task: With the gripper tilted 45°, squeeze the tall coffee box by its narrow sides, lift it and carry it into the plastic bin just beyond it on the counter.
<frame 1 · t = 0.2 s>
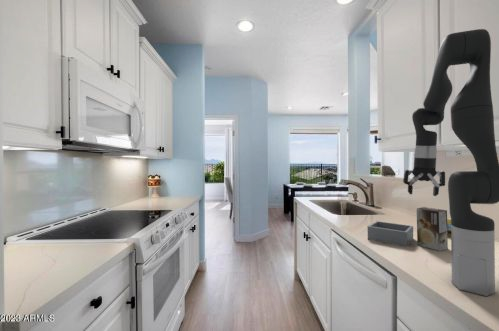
hand: (422, 194, 104), 22 cm above the worktop, tool pointing down, fingers open, 8 cm apart
bin: (390, 238, 116), on the worktop
candy box: (441, 234, 123), on the worktop
coffee box: (432, 247, 104), on the worktop
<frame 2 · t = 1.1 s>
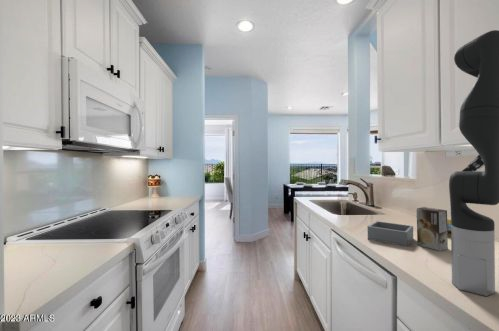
hand: (460, 176, 95), 30 cm above the worktop, tool tilted 45°, fingers open, 8 cm apart
nothing on the worktop moved.
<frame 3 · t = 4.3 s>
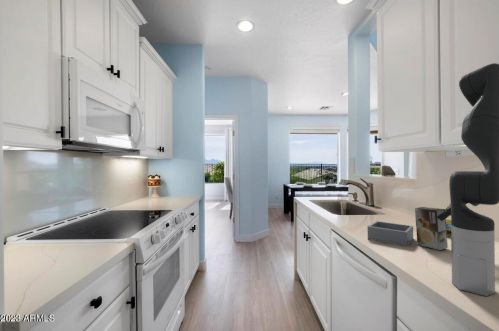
hand: (440, 217, 102), 13 cm above the worktop, tool tilted 45°, fingers open, 8 cm apart
coffee box: (432, 246, 104), on the worktop, touching gripper
everything else where it was.
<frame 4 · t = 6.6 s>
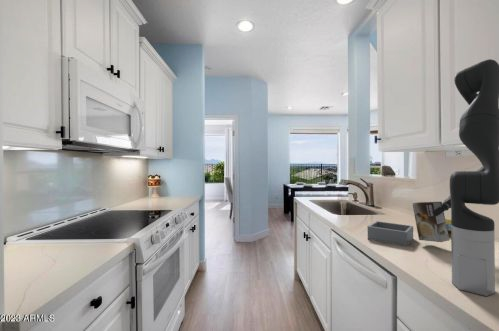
hand: (435, 213, 103), 15 cm above the worktop, tool tilted 45°, fingers closed on coffee box, 7 cm apart
coffee box: (433, 240, 104), point 3 cm above the worktop, touching gripper
everything else where it was.
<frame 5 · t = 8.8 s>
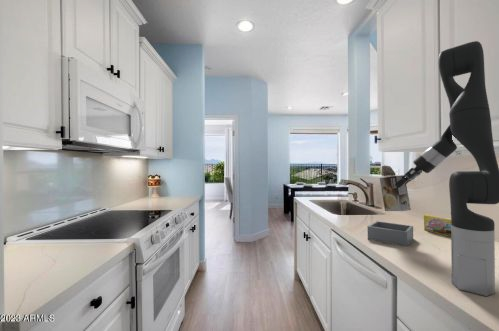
hand: (398, 185, 114), 25 cm above the worktop, tool tilted 45°, fingers closed on coffee box, 7 cm apart
coffee box: (397, 211, 114), point 13 cm above the worktop, touching gripper
everything else where it was.
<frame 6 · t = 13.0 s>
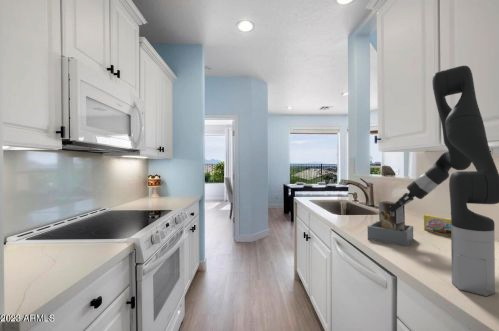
hand: (393, 209, 115), 14 cm above the worktop, tool tilted 45°
coffee box: (392, 237, 116), point 1 cm above the worktop, touching bin, gripper
everything else where it was.
when the fingers open (14 cm above the worktop, at t = 13.2 s): coffee box stays where it is, resting on bin.
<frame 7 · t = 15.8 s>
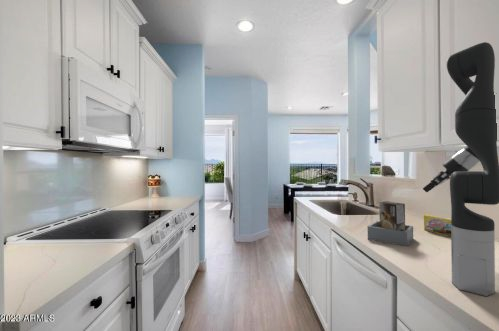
hand: (426, 189, 106), 24 cm above the worktop, tool tilted 45°, fingers open, 8 cm apart
coffee box: (392, 237, 116), point 1 cm above the worktop, touching bin
everything else where it was.
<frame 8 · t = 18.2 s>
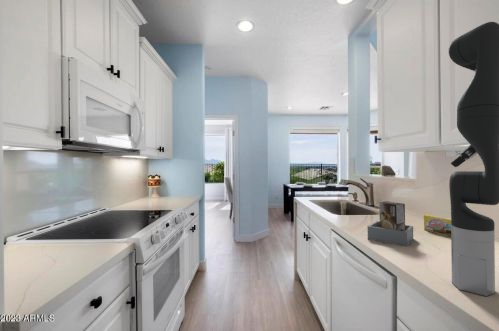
hand: (453, 165, 95), 35 cm above the worktop, tool tilted 45°, fingers open, 8 cm apart
nothing on the worktop moved.
at the end: coffee box inside the target area on the bin (0.9 cm from its centre), point 0.8 cm above the bin's base; coffee box tilted 0°; the gripper is holding nothing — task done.
